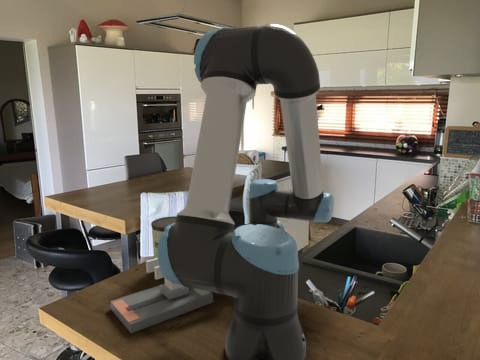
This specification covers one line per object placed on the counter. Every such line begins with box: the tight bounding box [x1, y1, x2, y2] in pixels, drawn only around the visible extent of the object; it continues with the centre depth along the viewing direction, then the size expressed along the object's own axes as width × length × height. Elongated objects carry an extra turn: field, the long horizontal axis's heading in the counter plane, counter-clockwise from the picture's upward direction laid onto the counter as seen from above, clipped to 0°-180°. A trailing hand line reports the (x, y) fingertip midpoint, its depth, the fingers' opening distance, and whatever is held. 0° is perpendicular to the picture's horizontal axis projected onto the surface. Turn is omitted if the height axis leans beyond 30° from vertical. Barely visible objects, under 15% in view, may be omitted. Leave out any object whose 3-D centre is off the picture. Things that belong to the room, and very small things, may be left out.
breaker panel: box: [109, 284, 214, 334], centre depth 90 cm, size 12×20×2 cm, turn 127°
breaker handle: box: [159, 277, 189, 300], centre depth 90 cm, size 5×5×12 cm
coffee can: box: [150, 215, 177, 259], centre depth 108 cm, size 10×10×14 cm
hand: (151, 270), depth 87 cm, fingers closed on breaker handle, 4 cm apart
